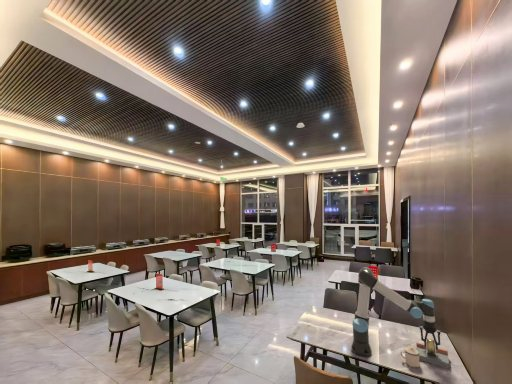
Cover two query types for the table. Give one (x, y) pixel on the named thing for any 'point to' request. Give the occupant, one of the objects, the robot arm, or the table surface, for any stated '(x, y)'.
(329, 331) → the table surface
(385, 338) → the table surface
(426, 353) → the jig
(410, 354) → the teacup with lid
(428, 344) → the brass cylinder
